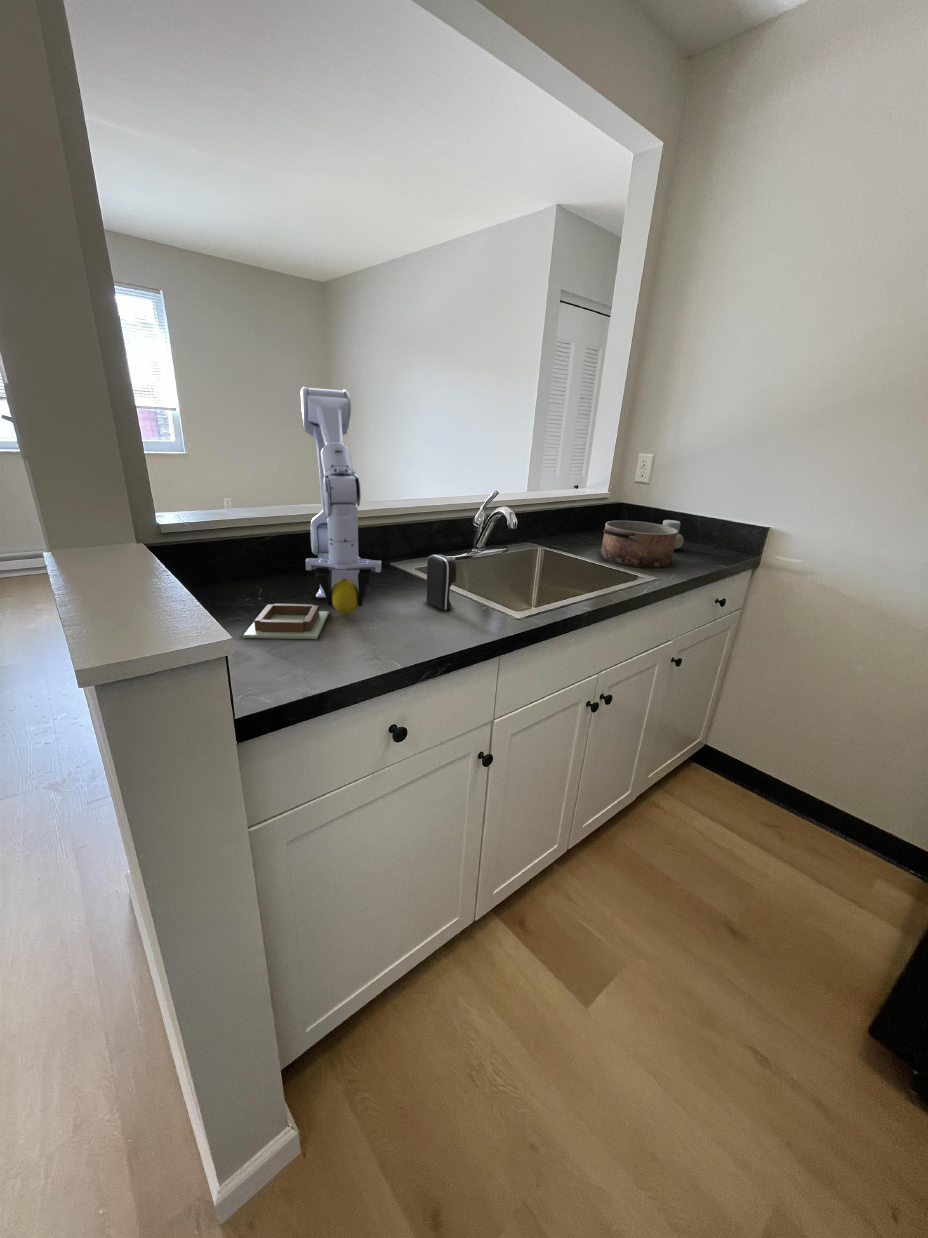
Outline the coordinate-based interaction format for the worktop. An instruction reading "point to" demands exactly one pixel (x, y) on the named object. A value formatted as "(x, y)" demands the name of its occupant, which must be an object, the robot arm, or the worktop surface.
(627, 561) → the cooking pot
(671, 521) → the air freshener
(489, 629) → the worktop surface
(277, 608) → the cradle pad
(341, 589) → the lemon
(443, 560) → the battery charger
